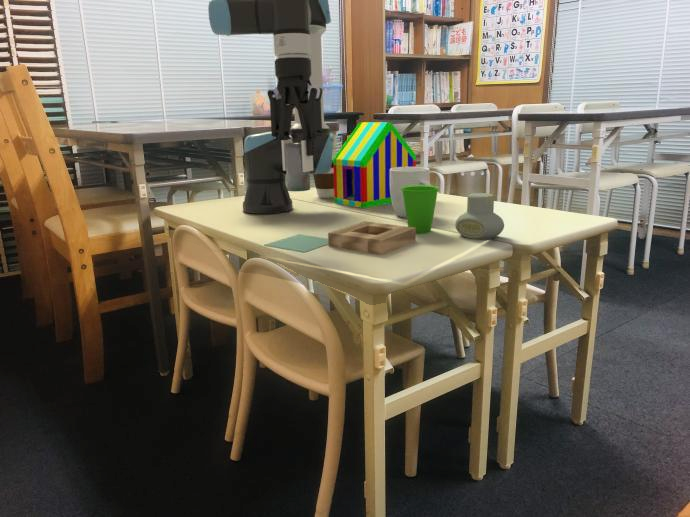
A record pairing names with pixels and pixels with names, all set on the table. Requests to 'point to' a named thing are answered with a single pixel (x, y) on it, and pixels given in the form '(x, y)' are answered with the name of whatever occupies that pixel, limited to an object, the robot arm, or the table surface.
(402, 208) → the mug
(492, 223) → the air freshener
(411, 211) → the cup
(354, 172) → the toy house
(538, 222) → the table surface
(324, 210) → the table surface
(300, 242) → the mat
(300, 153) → the gray metal can
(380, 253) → the socket block
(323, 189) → the coffee cup
